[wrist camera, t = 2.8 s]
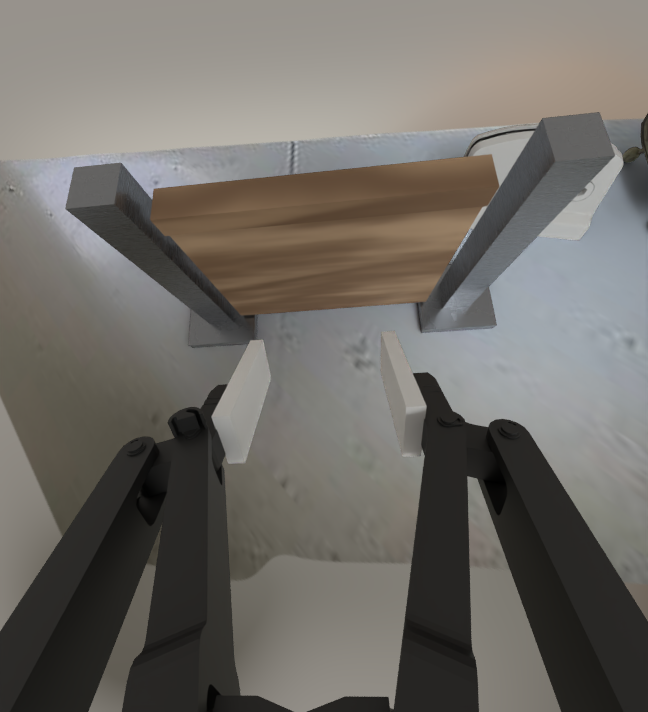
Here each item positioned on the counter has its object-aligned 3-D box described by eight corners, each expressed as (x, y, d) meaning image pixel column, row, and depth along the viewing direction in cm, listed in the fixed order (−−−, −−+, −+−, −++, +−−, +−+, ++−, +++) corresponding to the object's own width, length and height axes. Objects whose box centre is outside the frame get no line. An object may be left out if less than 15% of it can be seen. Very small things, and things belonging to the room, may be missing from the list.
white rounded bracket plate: (440, 225, 38) (472, 133, 30) (440, 205, 41) (469, 115, 32) (582, 241, 36) (659, 146, 28) (572, 219, 39) (639, 127, 30)
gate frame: (492, 328, 34) (683, 190, 15) (192, 347, 36) (16, 249, 17) (480, 266, 36) (633, 73, 17) (196, 288, 38) (43, 140, 19)
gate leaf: (426, 304, 34) (499, 186, 18) (241, 318, 35) (150, 220, 19) (422, 279, 35) (489, 143, 18) (241, 294, 36) (154, 178, 20)
